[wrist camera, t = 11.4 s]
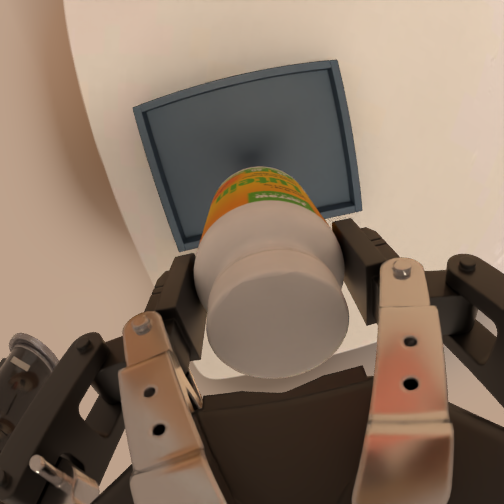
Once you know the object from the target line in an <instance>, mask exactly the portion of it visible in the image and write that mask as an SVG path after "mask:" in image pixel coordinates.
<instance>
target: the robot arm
mask: <svg viewBox="0 0 504 504" xmlns="http://www.w3.org/2000/svg"><path fill="white" fill-rule="evenodd" d="M332 231H333V233H334V234H335V236H336V238H337V240H338V242H339V245H340V247H341V250H342V253H343V258H344V265H345V274H344V282H345V284H346V286H347V288H348V290H349V292H350V294H351V296H352V298H353V299H354V301H355V303H356V305H357V307H358V309H359V311H360V313H361V315H362V317H363V319H364V321H365V323H366V325H371V324H374V323H377V325H378V336H377V351H376V361H375V371H374V376H367V375H366V373H365V370H364V368H363V366H358V367H355V368H351V369H347V370H343V371H340V372H336V373H332V374H328V375H324V376H321V377H319V378H317V379H315V380H313V381H310V382H308V383H306V384H304V385H301V386H299V387H297V388H294V389H292V390H290V391H287V392H283V393H265V392H245V391H240V392H232V393H225V394H217V395H207V396H203V399H202V397H201V394H200V392H199V390H198V387H197V385H196V382H195V380H194V378H193V375H192V373H191V371H190V369H189V362H190V361H194V360H201V354H202V346H203V338H204V331H205V324H206V317H207V311H206V310H205V308H204V307H203V305H202V303H201V302H200V300H199V297H198V295H197V292H196V288H195V283H194V264H195V258H196V256H195V255H194V254H193V253H191V254H186V255H182V256H178V257H175V258H174V261H173V263H172V265H171V268H170V270H169V271H165V272H164V274H163V275H162V276H161V277H160V278H159V279H158V280H157V282H156V285H155V289H154V290H153V292H152V295H151V297H150V299H149V302H148V304H147V306H146V309H145V311H144V312H143V313H140V314H138V315H136V316H134V317H133V318H131V319H130V320H129V321H128V322H127V323H126V324H125V326H124V328H123V336H121V337H119V338H116V339H113V340H111V341H108V342H105V341H104V340H103V338H102V337H101V336H100V334H99V333H96V332H92V333H87V334H85V335H82V336H81V337H79V338H78V339H76V340H75V341H74V342H73V344H72V345H71V346H70V347H69V349H68V350H67V352H66V353H65V354H64V356H63V357H62V358H61V360H60V361H59V362H58V364H57V365H56V367H55V368H54V370H53V368H52V366H51V365H50V363H49V362H48V361H47V360H46V359H45V357H44V356H42V355H41V354H40V353H39V352H38V351H36V350H35V349H33V348H32V347H30V346H28V345H25V344H21V343H19V344H16V345H15V346H14V348H13V349H12V351H11V353H10V354H9V356H8V357H7V358H3V359H2V360H1V362H0V504H504V427H502V426H500V425H498V424H495V423H493V422H491V421H489V420H486V419H484V418H482V417H479V416H477V415H475V414H473V413H471V412H469V411H467V410H465V409H462V408H460V407H458V406H456V405H454V404H452V403H450V402H448V389H447V375H446V365H445V356H444V347H443V344H444V345H445V346H446V347H447V348H448V349H449V350H450V351H451V352H452V353H453V354H454V355H456V357H457V358H459V360H460V361H461V362H462V363H463V364H464V365H465V366H466V367H467V368H468V369H469V370H470V371H471V372H472V373H473V375H474V376H475V377H476V378H477V379H478V380H479V381H480V382H481V383H482V384H483V385H484V386H485V387H486V389H487V390H488V391H489V392H490V393H491V394H492V395H493V396H494V397H495V398H496V400H497V401H498V402H499V403H500V404H501V405H502V406H503V407H504V274H503V273H502V272H500V271H499V270H497V269H496V268H494V267H493V266H491V265H489V264H488V263H486V262H485V261H483V260H482V259H480V258H478V257H476V256H473V255H469V254H458V255H454V256H452V257H451V258H450V259H449V260H448V262H447V269H446V270H440V271H424V268H423V266H422V265H421V264H420V263H419V262H418V261H416V260H413V259H410V258H403V257H399V256H398V255H397V253H396V252H395V251H394V250H393V249H392V248H391V247H390V246H389V245H388V244H387V243H386V242H385V241H384V239H382V237H381V236H380V235H379V234H378V233H377V232H376V231H374V230H371V229H369V228H367V227H365V228H359V226H358V225H357V224H356V223H355V222H354V221H353V220H352V219H351V218H349V219H344V220H340V221H335V222H332ZM478 309H479V310H480V311H481V312H483V313H484V314H485V315H486V316H487V317H488V318H490V319H491V320H492V321H493V322H494V323H495V325H496V328H497V337H496V336H494V335H493V334H492V333H491V332H490V331H489V330H488V329H486V328H485V327H484V326H483V325H482V324H481V323H480V322H478V321H477V320H476V315H477V311H478ZM90 385H91V386H92V387H93V388H94V389H95V391H96V392H97V393H98V394H99V396H98V398H97V400H96V402H95V404H94V406H93V407H92V409H91V411H90V413H89V414H88V416H87V418H86V420H85V421H84V420H83V419H82V417H81V416H80V414H79V404H80V402H81V400H82V398H83V397H84V395H85V393H86V392H87V389H88V388H89V387H90ZM124 429H126V435H127V441H128V446H129V451H130V455H131V461H132V464H131V465H130V466H129V467H128V468H127V469H126V470H125V471H124V472H123V473H122V474H121V475H120V476H119V477H118V478H117V479H116V480H115V481H114V482H113V483H112V484H111V485H109V486H108V487H107V488H106V489H105V490H104V491H103V492H102V493H101V494H100V495H99V485H100V483H101V480H102V478H103V476H104V473H105V471H106V469H107V467H108V465H109V462H110V460H111V458H112V455H113V453H114V451H115V449H116V447H117V444H118V442H119V440H120V438H121V436H122V434H123V431H124Z"/></svg>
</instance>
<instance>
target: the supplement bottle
mask: <svg viewBox="0 0 504 504" xmlns="http://www.w3.org/2000/svg"><path fill="white" fill-rule="evenodd" d="M344 274H345V265H344V258H343V253H342V250H341V247H340V245H339V242H338V240H337V238H336V236H335V234H334V233H333V231H332V230H331V228H330V227H329V225H328V224H327V222H326V221H325V220H324V218H323V217H322V215H321V214H320V213H319V211H318V210H317V208H316V207H315V205H314V204H313V202H312V201H311V200H310V198H309V197H308V195H307V194H306V192H305V191H304V190H303V188H302V187H301V186H300V185H299V184H298V182H297V181H296V180H294V179H293V178H292V177H291V176H289V175H288V174H287V173H285V172H283V171H280V170H278V169H275V168H271V167H260V166H259V167H251V168H246V169H243V170H241V171H238V172H236V173H235V174H233V175H231V176H230V177H229V178H227V179H226V180H225V181H224V182H223V183H222V184H221V186H220V187H219V189H218V190H217V192H216V194H215V196H214V198H213V200H212V203H211V207H210V210H209V213H208V217H207V220H206V223H205V226H204V230H203V233H202V237H201V240H200V243H199V246H198V250H197V254H196V258H195V264H194V283H195V288H196V292H197V295H198V297H199V300H200V302H201V303H202V305H203V307H204V308H205V310H206V311H207V322H206V331H207V337H208V341H209V344H210V346H211V348H212V349H213V351H214V353H215V354H216V355H217V357H218V358H219V359H220V360H221V361H222V362H224V363H225V364H226V365H228V366H229V367H231V368H232V369H234V370H236V371H238V372H240V373H243V374H246V375H249V376H253V377H258V378H270V379H273V378H285V377H291V376H295V375H299V374H302V373H304V372H307V371H309V370H312V369H314V368H315V367H317V366H319V365H321V364H322V363H323V362H325V361H326V360H327V359H329V358H330V357H331V356H332V355H333V354H334V353H335V352H336V351H337V349H338V348H339V347H340V345H341V344H342V342H343V340H344V338H345V336H346V333H347V330H348V325H349V311H348V306H347V303H346V300H345V298H344V296H343V293H342V291H341V289H342V285H343V281H344Z"/></svg>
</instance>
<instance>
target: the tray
mask: <svg viewBox="0 0 504 504" xmlns="http://www.w3.org/2000/svg"><path fill="white" fill-rule="evenodd" d="M133 112H134V116H135V119H136V123H137V126H138V130H139V133H140V137H141V140H142V143H143V147H144V150H145V153H146V157H147V160H148V163H149V166H150V169H151V172H152V176H153V179H154V182H155V185H156V188H157V191H158V194H159V197H160V200H161V203H162V206H163V209H164V211H165V214H166V217H167V220H168V223H169V226H170V229H171V231H172V234H173V237H174V240H175V242H176V245H177V248H178V250H179V252H182V251H186V250H190V249H194V248H198V246H199V243H200V240H201V237H202V233H203V230H204V226H205V223H206V220H207V217H208V213H209V210H210V207H211V203H212V200H213V198H214V196H215V194H216V192H217V190H218V189H219V187H220V186H221V184H222V183H223V182H224V181H225V180H226V179H227V178H229V177H230V176H231V175H233V174H235V173H236V172H238V171H241V170H243V169H246V168H251V167H259V166H260V167H271V168H275V169H278V170H280V171H283V172H285V173H287V174H288V175H289V176H291V177H292V178H293V179H294V180H296V181H297V182H298V184H299V185H300V186H301V187H302V188H303V190H304V191H305V192H306V194H307V195H308V197H309V198H310V200H311V201H312V202H313V204H314V205H315V207H316V208H317V210H318V211H319V213H320V214H321V215H322V217H323V218H324V219H327V218H331V217H336V216H341V215H345V214H350V213H355V212H359V211H362V201H361V192H360V183H359V175H358V167H357V160H356V153H355V146H354V140H353V134H352V128H351V122H350V117H349V111H348V106H347V101H346V96H345V91H344V87H343V82H342V78H341V73H340V69H339V65H338V61H337V60H330V61H329V60H327V61H317V62H309V63H301V64H294V65H288V66H282V67H276V68H270V69H265V70H260V71H255V72H250V73H245V74H241V75H236V76H232V77H228V78H224V79H220V80H216V81H212V82H208V83H205V84H201V85H198V86H194V87H191V88H188V89H184V90H181V91H178V92H175V93H172V94H169V95H166V96H163V97H160V98H157V99H154V100H152V101H149V102H146V103H143V104H141V105H138V106H136V107H133Z"/></svg>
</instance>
